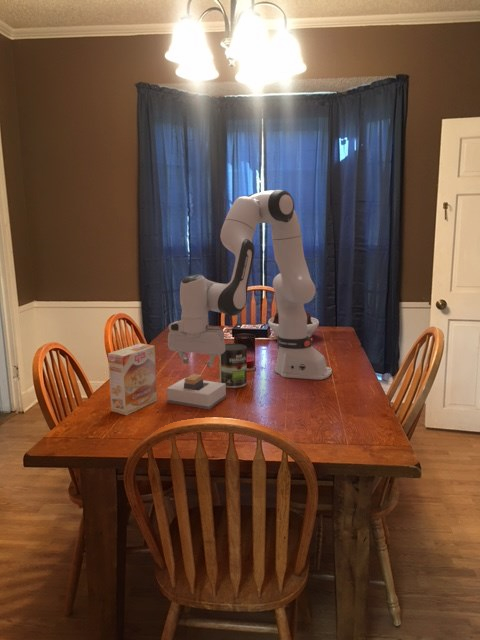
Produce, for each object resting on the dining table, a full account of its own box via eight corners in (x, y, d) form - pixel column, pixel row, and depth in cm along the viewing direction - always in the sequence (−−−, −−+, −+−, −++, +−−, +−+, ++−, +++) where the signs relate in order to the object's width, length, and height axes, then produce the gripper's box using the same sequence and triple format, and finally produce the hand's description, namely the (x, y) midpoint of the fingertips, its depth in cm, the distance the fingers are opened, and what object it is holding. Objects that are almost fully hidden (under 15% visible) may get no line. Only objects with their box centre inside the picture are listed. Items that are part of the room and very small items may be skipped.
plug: (203, 394, 174) (202, 375, 172) (194, 400, 168) (194, 380, 167) (193, 393, 175) (192, 373, 174) (184, 398, 170) (183, 379, 169)
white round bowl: (322, 345, 240) (322, 314, 237) (269, 345, 241) (269, 314, 237) (315, 333, 265) (315, 304, 261) (267, 333, 265) (267, 305, 262)
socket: (225, 397, 174) (225, 383, 173) (209, 409, 164) (208, 394, 162) (185, 391, 181) (185, 377, 180) (167, 402, 170) (166, 388, 169)
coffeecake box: (126, 415, 159) (122, 356, 155) (110, 411, 163) (106, 353, 159) (158, 400, 172) (155, 345, 168) (142, 397, 176) (139, 342, 171)
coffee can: (252, 385, 186) (251, 348, 183) (226, 390, 181) (226, 352, 178) (239, 377, 195) (238, 341, 192) (214, 381, 190) (214, 345, 187)
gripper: (227, 324, 165) (229, 365, 168) (174, 321, 174) (176, 359, 177) (218, 329, 160) (221, 371, 163) (164, 325, 168) (166, 365, 171)
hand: (197, 365), depth 170 cm, fingers open, 8 cm apart
